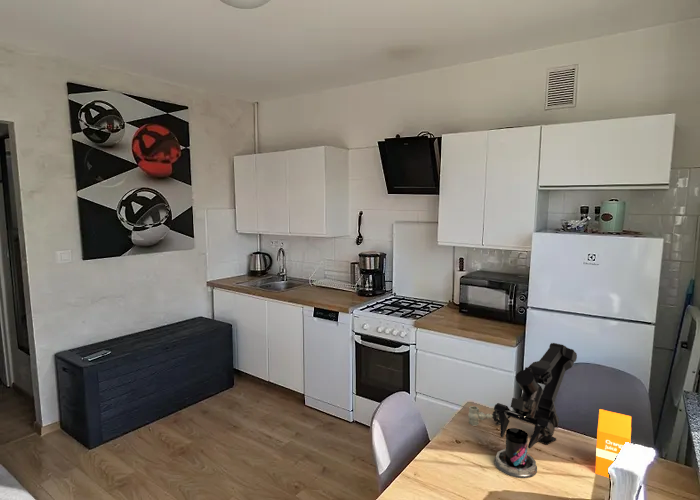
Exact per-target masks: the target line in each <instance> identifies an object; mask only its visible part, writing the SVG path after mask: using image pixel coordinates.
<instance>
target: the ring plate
mask: <svg viewBox="0 0 700 500" xmlns="http://www.w3.org/2000/svg"><path fill="white" fill-rule="evenodd" d="M505 450H506V448H504V449H501V450H499V451H497V453H496V456H495V458H494V465H495V467H496V468H497V469H498V470H499V471H500V472H501V473H503V474H505V475H507V476H508V477H509V476H510V477H512V478H516V479H529V478H532V477H534V476H536V474H537V473H538V466H537V464H536V463H537V461H536V460H535V459H534V457H533V456H532V455H530V454H528V453H527V465H526V466H525V467H524V468H521V469H518V468H513V467H511V466H509V465H508V464H507V463H506V461H505Z"/></svg>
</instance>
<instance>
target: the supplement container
mask: <svg viewBox="0 0 700 500" xmlns="http://www.w3.org/2000/svg"><path fill="white" fill-rule="evenodd" d="M528 435H529V434H528V432H527V431H525V430H523V429H520V428H516V427H509V428H508V429H506V432H505V449H506V450H505V461H506V463H507V464H508V465H509V466H511V467H513V468H518V469H521V468H524V467H525V466H526V465H527V454H528V441H529V440H528V438H529V436H528Z"/></svg>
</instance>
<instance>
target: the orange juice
mask: <svg viewBox="0 0 700 500" xmlns="http://www.w3.org/2000/svg"><path fill="white" fill-rule="evenodd" d="M598 411H599V412H598V423H597V432H596V448H595V450H596V451H595V452H596V453H595V471H594V473H595V474H596V475H599V476H602V477H605V478H608V479H610V478H609V474H608V467H609V466H610V465H611V464H612V463H613V462H614V460H615V458H616V456H617V455H618V453H619V452H620V450H621V448H622V446H623V445H624V444H625V442H629V443H631V440H632V439H631V438H632V437H631V436H632V416H631V415H627V414H623V413H618V412H614V411H609V410H605V409H601V408H600V409H599V410H598Z"/></svg>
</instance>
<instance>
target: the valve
mask: <svg viewBox="0 0 700 500" xmlns="http://www.w3.org/2000/svg"><path fill="white" fill-rule="evenodd" d="M467 416H468V424H469V425H471V426H474V427H475V426H478V425H479V423H480V422H479V420H480V421H484V420H485V419H493V421H494V422H495V423H496V425H498V426H501V424H500V417H499V416H498V415H497V413H496V412H495V411H493V412H492V414H491V413H486V414H485V413H484V412H483V411H480V408H479V407H478V406H476V405H470V406H469V407H468V415H467Z"/></svg>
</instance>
